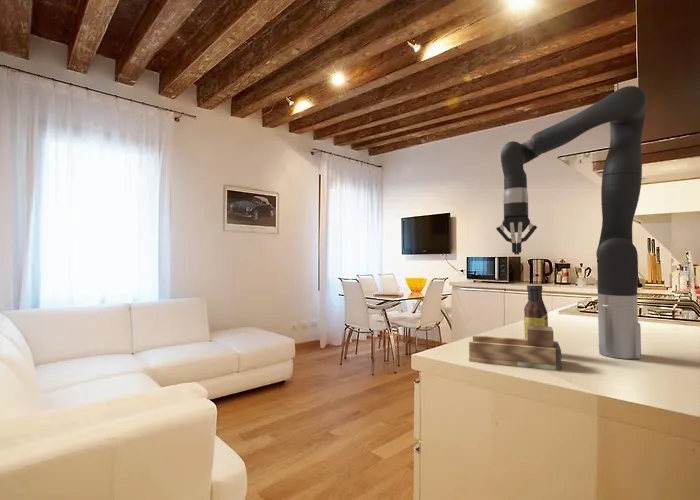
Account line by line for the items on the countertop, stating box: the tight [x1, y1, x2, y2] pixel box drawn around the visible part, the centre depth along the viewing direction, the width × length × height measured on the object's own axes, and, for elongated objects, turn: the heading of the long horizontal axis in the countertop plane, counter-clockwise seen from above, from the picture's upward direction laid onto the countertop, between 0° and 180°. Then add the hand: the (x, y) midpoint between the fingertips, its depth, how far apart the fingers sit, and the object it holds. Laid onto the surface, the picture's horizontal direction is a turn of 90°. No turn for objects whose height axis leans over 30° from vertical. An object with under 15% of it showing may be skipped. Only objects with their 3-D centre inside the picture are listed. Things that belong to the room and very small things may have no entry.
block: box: [527, 326, 555, 348], centre depth 100 cm, size 6×6×8 cm
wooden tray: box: [468, 335, 562, 371], centre depth 102 cm, size 22×11×5 cm, turn 65°
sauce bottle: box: [523, 284, 549, 339], centre depth 110 cm, size 6×6×20 cm
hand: (516, 254), depth 125 cm, fingers closed
